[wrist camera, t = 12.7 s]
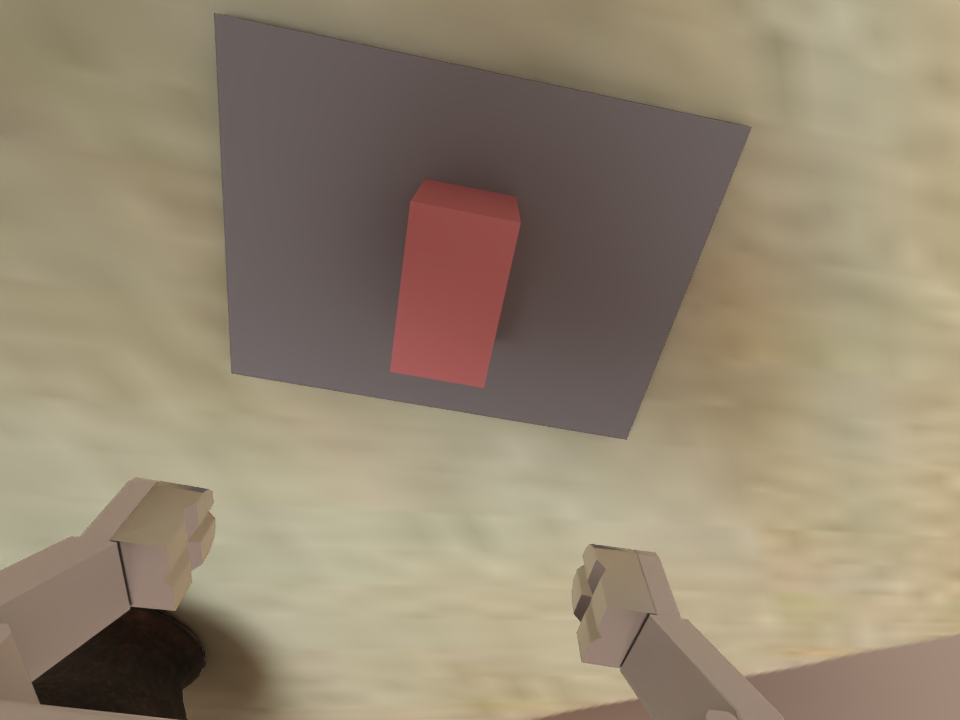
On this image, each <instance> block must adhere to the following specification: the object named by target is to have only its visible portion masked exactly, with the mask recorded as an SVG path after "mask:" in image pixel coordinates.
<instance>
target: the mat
mask: <svg viewBox="0 0 960 720" xmlns="http://www.w3.org/2000/svg"><path fill="white" fill-rule="evenodd" d="M214 20H215V41H216V62H217V83H218V104H219V124H220V145H221V166H222V187H223V208H224V229H225V249H226V270H227V291H228V312H229V333H230V354H231V373H232V374H238V375H244V376H250V377H256V378H262V379H268V380H274V381H280V382H286V383H292V384H298V385H304V386H310V387H316V388H322V389H328V390H334V391H340V392H346V393H352V394H358V395H364V396H370V397H376V398H381V399H387V400H393V401H399V402H405V403H411V404H417V405H423V406H429V407H435V408H441V409H447V410H453V411H459V412H465V413H471V414H477V415H483V416H489V417H495V418H501V419H507V420H513V421H519V422H525V423H530V424H536V425H542V426H548V427H554V428H560V429H566V430H572V431H578V432H584V433H590V434H596V435H602V436H608V437H614V438H620V439H626V440H627V437H628V435H629V432H630V430H631V427H632V425H633V422H634V420H635V417H636V415H637V412H638V410H639V407H640V405H641V402H642V400H643V397H644V395H645V392H646V390H647V387H648V385H649V382H650V380H651V377H652V375H653V372H654V370H655V367H656V365H657V362H658V360H659V357H660V355H661V352H662V350H663V347H664V345H665V342H666V340H667V337H668V335H669V332H670V330H671V327H672V325H673V322H674V320H675V317H676V315H677V312H678V310H679V307H680V305H681V302H682V300H683V297H684V295H685V292H686V290H687V287H688V285H689V282H690V280H691V277H692V275H693V272H694V270H695V267H696V265H697V262H698V260H699V257H700V255H701V252H702V250H703V247H704V245H705V242H706V240H707V237H708V235H709V232H710V230H711V227H712V224H713V222H714V219H715V217H716V214H717V212H718V209H719V207H720V204H721V202H722V199H723V197H724V194H725V192H726V189H727V187H728V184H729V182H730V179H731V177H732V174H733V172H734V169H735V167H736V164H737V162H738V159H739V157H740V154H741V152H742V149H743V147H744V144H745V142H746V139H747V137H748V134H749V132H750V129H751V127H748V126H743V125H739V124H734V123H729V122H725V121H720V120H715V119H711V118H706V117H701V116H696V115H692V114H687V113H682V112H678V111H673V110H668V109H663V108H659V107H654V106H649V105H645V104H640V103H635V102H631V101H626V100H621V99H616V98H612V97H607V96H602V95H598V94H593V93H588V92H583V91H579V90H574V89H569V88H565V87H560V86H555V85H550V84H546V83H541V82H536V81H532V80H527V79H522V78H518V77H513V76H508V75H503V74H499V73H494V72H489V71H485V70H480V69H475V68H470V67H466V66H461V65H456V64H452V63H447V62H442V61H438V60H433V59H428V58H423V57H419V56H414V55H409V54H405V53H400V52H395V51H390V50H386V49H381V48H376V47H372V46H367V45H362V44H358V43H353V42H348V41H343V40H339V39H334V38H329V37H325V36H320V35H315V34H310V33H306V32H301V31H296V30H292V29H287V28H282V27H278V26H273V25H268V24H263V23H259V22H254V21H249V20H245V19H240V18H235V17H230V16H226V15H221V14H216V13H214ZM424 179H429V180H434V181H440V182H445V183H450V184H455V185H460V186H465V187H470V188H475V189H480V190H485V191H490V192H495V193H500V194H505V195H511V196H516V197H517V203H518V209H519V215H520V221H521V224H520V229H519V233H518V238H517V242H516V247H515V251H514V256H513V260H512V264H511V269H510V273H509V278H508V282H507V287H506V291H505V296H504V300H503V305H502V309H501V314H500V318H499V323H498V327H497V332H496V336H495V340H494V345H493V349H492V354H491V358H490V363H489V367H488V372H487V376H486V381H485V385H484V388H481V387H475V386H470V385H464V384H458V383H452V382H446V381H440V380H435V379H429V378H423V377H417V376H411V375H405V374H400V373H394V372H390V367H391V359H392V350H393V342H394V334H395V325H396V317H397V309H398V300H399V292H400V284H401V275H402V267H403V259H404V250H405V242H406V234H407V225H408V217H409V209H410V201H411V200H412V198H413V196H414V195H415V193H416V192H417V190H418V189H419V187H420V185H421V184H422V182H423V181H424Z"/></svg>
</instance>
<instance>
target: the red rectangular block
mask: <svg viewBox="0 0 960 720" xmlns="http://www.w3.org/2000/svg"><path fill="white" fill-rule="evenodd" d="M520 224H521V221H520V215H519V209H518V203H517V197H516V196H511V195H505V194H500V193H495V192H490V191H485V190H480V189H475V188H470V187H465V186H460V185H455V184H450V183H445V182H440V181H434V180H429V179H424V181H423V182H422V184H421V185H420V187H419V189H418V190H417V192H416V193H415V195H414V196H413V198H412V200H411V201H410V209H409V217H408V225H407V234H406V242H405V250H404V259H403V267H402V275H401V284H400V292H399V300H398V309H397V317H396V325H395V334H394V342H393V350H392V359H391V367H390V372H394V373H400V374H405V375H411V376H417V377H423V378H429V379H435V380H440V381H446V382H452V383H458V384H464V385H470V386H475V387H481V388H484V385H485V381H486V376H487V372H488V367H489V363H490V358H491V354H492V349H493V345H494V340H495V336H496V332H497V327H498V323H499V318H500V314H501V309H502V305H503V300H504V296H505V291H506V287H507V282H508V278H509V273H510V269H511V264H512V260H513V256H514V251H515V247H516V242H517V238H518V233H519V229H520Z"/></svg>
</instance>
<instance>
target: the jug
mask: <svg viewBox="0 0 960 720" xmlns="http://www.w3.org/2000/svg"><path fill="white" fill-rule="evenodd" d="M206 657H207V656H206ZM204 658H205V653H204V648H203V647H201V646H200V645H199V642H198V639H197V638H196V637H195V636H194V635H193V634H192V633H191V632H190V631H189V629H186V628H184V627H183V626H181V625H180V624H178V623H177V622H175V621H174V620H173V619H171V618H170V617H168V616H167V615H162V614H161V613H159V612H158V611H156V610H153V609H151V608H141V607H131V606H130V610H128V611H127V612H126V613H124V614H123V615H122V616H120V617H119V618H118V619H116V620H115V621H113V622H112V623H111V624H109V625H108V626H107V627H105V628H104V629H103V630H101V631H100V632H99V633H97V634H96V635H95V636H93V637H92V638H90V639H89V640H88V641H86V642H85V643H84V644H82V645H81V646H80V647H78V648H77V649H76V650H74V651H73V652H72V653H70V654H69V655H67V656H66V657H65V658H63V659H62V660H61V661H59V662H58V663H57V664H55V665H54V666H53V667H51V668H50V669H49V670H47V671H46V672H44V673H43V674H42V675H40V676H39V677H38V678H36V679H35V680H34V681H32V685H33V687H34V690H35V692H36V695H37V697H38V700H39V702H40V704H41V705H50V706H59V707H68V708H77V709H86V710H95V711H104V712H113V713H122V714H131V715H140V716H149V717H158V718H167V719H176V720H187V719H186V713H185V708H184V704H183V694H182V690H183V689H184V688H185V687H186V686H188V685H189V684H191V683H192V682H193V681H194V680H195V679H196V678H197V677H198V676H199V674H200V672H201V669H202V668H204V667H205V665H206V662H205V659H204ZM206 661H207V660H206Z"/></svg>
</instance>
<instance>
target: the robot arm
mask: <svg viewBox="0 0 960 720" xmlns="http://www.w3.org/2000/svg"><path fill="white" fill-rule="evenodd" d="M213 503H214V500H213V492H212V491H211V490H209V489H204V488H198V487H193V486H187V485H181V484H175V483H169V482H163V481H155V480H149V479H143V478H137V477H136V478H134V479H132V480H130V481H129V482H127V483H126V485H125V486H124V487H123V488H122V489H121V490H120V491H119V493H118V494H117V495H116V496H115V497H114V498H113V499H112V501H111V502H110V503H109V504H108V505H107V506H106V507H105V509H104V510H103V511H102V512H101V513H100V514H99V515H98V517H97V518H96V519H95V520H94V521H93V522H92V523H91V525H90V526H89V527H88V528H87V529H86V530H85V531H84V533H83V534H82V535H81V536H80V537H74V536H71V537H69V538H67V539H65V540H63V541H61V542H59V543H57V544H55V545H52V546H50V547H48V548H46V549H44V550H42V551H40V552H38V553H36V554H34V555H32V556H30V557H28V558H26V559H23V560H21V561H19V562H17V563H15V564H13V565H11V566H9V567H7V568H5V569H3V570H1V571H0V720H176V719H167V718H158V717H149V716H140V715H131V714H122V713H113V712H104V711H95V710H86V709H77V708H68V707H59V706H50V705H41V704H40V702H39V700H38V697H37V695H36V692H35V690H34V687H33V685H32V681H34V680H35V679H36V678H38V677H39V676H40V675H42V674H43V673H44V672H46V671H47V670H49V669H50V668H51V667H53V666H54V665H55V664H57V663H58V662H59V661H61V660H62V659H63V658H65V657H66V656H67V655H69V654H70V653H72V652H73V651H74V650H76V649H77V648H78V647H80V646H81V645H82V644H84V643H85V642H86V641H88V640H89V639H90V638H92V637H93V636H95V635H96V634H97V633H99V632H100V631H101V630H103V629H104V628H105V627H107V626H108V625H109V624H111V623H112V622H113V621H115V620H116V619H118V618H119V617H120V616H122V615H123V614H124V613H126V612H127V611H128V610H130V606H131V607H141V608H151V609H161V610H171V611H176V609H177V607H178V606H179V604H180V602H181V600H182V599H183V597H184V595H185V593H186V592H187V590H188V588H189V587H190V585H191V583H192V576H191V571H192V570H193V569H195V568H196V567H198V566H200V565H201V564H203V562H204V560H205V559H206V557H207V555H208V553H209V551H210V548H211V545H212V542H213V539H214V535H215V527H216V526H215V518H214V517H213V515H212V514H211V513H210V512H209V510H210V508H211V507H212V505H213ZM583 559H584V565H583V566H581V567H580V568H578V569H577V571H576V574H575V577H574V580H573V587H572V605H573V612H574V614H575V616H576V617H577V618H578V619H579V620H580V622H581V623H580V626H579V628H578V630H577V638H578V644H579V650H580V656H581V662H583V663H589V664H596V665H602V666H608V667H615V668H621V669H620V671H621V673H622V674H623V676H624V677H625V679H626V680H627V682H628V683H629V685H630V686H631V688H632V689H633V691H634V692H635V694H636V695H637V697H638V698H639V700H640V701H641V702H642V704H643V706H644V707H645V709H646V710H647V712H648V713H649V715H650V716H651V717H652V719H653V720H784V718H783V716H782V715H781V714H780V713H779V712H778V711H777V710H776V709H775V708H774V707H773V706H772V705H771V704H770V703H769V702H768V701H767V700H766V699H765V698H764V697H763V696H762V695H761V694H760V693H759V692H758V691H757V690H756V689H755V688H754V687H753V686H752V685H751V684H750V683H749V682H748V681H747V680H746V678H745V677H744V676H743V675H742V674H741V673H740V672H739V671H738V670H737V669H736V668H735V667H734V666H733V665H732V664H731V663H730V662H729V661H728V660H727V659H726V658H725V657H724V656H723V655H722V654H721V653H720V652H719V651H718V650H717V649H716V648H715V647H714V646H713V645H712V644H711V643H710V642H709V641H708V640H707V639H706V638H705V637H704V636H703V635H702V634H701V632H700V631H699V630H698V629H697V628H696V627H695V626H694V625H693V624H692V623H691V622H690V621H689V620H687V619H681V616H680V614H679V611H678V608H677V605H676V602H675V600H674V597H673V594H672V591H671V588H670V586H669V583H668V580H667V577H666V575H665V572H664V569H663V566H662V563H661V561H660V558H659V556H658V555H657V554H656V553H654V552H646V551H639V550H631V549H625V548H617V547H610V546H602V545H595V544H589V545H588V546H587V547H586V549H585V551H584V554H583Z"/></svg>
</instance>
